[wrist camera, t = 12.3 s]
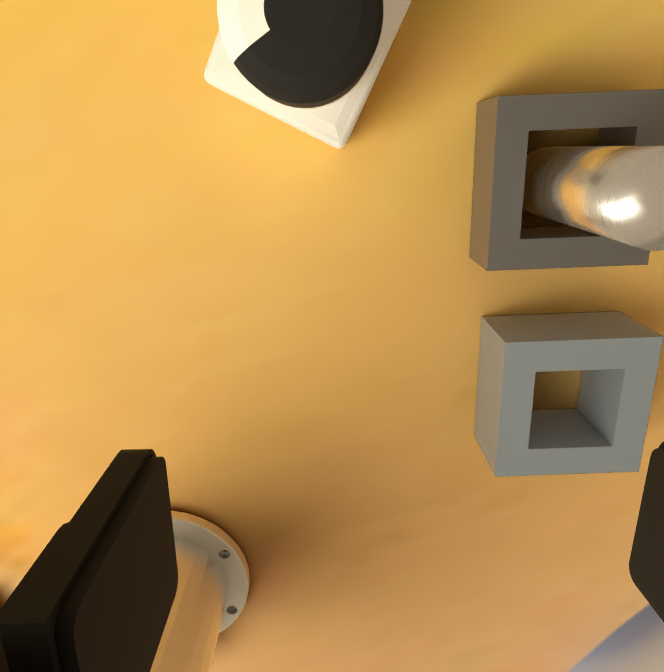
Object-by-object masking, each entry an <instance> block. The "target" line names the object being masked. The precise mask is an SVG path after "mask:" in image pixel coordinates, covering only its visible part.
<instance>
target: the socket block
mask: <svg viewBox="0 0 664 672" xmlns="http://www.w3.org/2000/svg"><path fill="white" fill-rule="evenodd" d="M663 338H664V337H663V336H661V335H660V334H658V333H656V332H654V331H653V330H651V329H649V328H647V327H646V326H644V325H642V324H640V323H638V322H637V321H635V320H633V319H631V318H630V317H628V316H626V315H624V314H623V313H621V312H619V311H608V312H582V313H556V314H530V315H504V316H482V319H481V335H480V352H479V369H478V385H477V402H476V419H475V435H474V436H475V438H476V440H477V442H478V444H479V446H480V448H481V450H482V452H483V454H484V456H485V458H486V460H487V462H488V464H489V466H490V468H491V470H492V471H493V473H494V475H495V477H501V476H529V475H557V474H585V473H613V472H639V468H640V462H641V457H642V452H643V446H644V441H645V435H646V430H647V425H648V419H649V414H650V408H651V403H652V397H653V392H654V387H655V381H656V376H657V370H658V365H659V360H660V354H661V349H662V343H663ZM576 370H582V372H581V380H580V387H579V395H578V403H577V408H576V409H549V410H532V405H533V395H534V385H535V375H536V372H549V371H576Z"/></svg>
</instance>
